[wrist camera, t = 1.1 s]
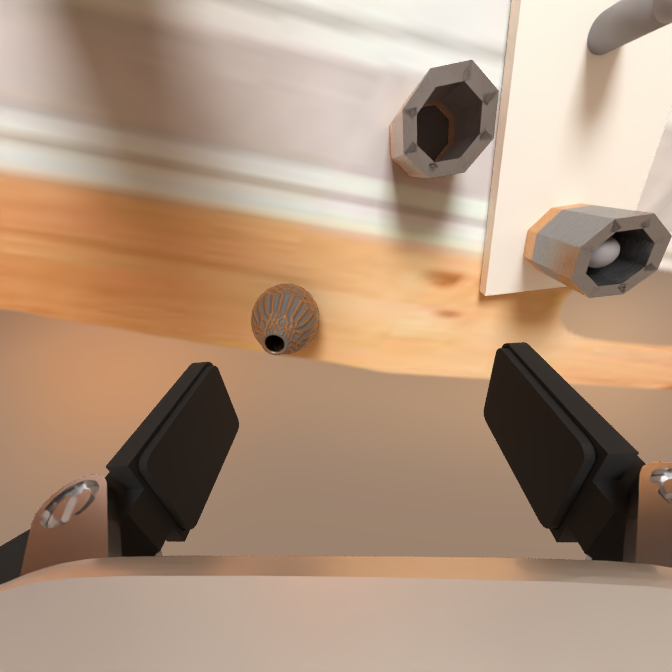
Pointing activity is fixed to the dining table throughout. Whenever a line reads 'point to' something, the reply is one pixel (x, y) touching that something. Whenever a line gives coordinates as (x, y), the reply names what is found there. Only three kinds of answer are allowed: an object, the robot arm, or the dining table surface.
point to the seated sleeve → (585, 236)
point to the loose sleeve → (459, 107)
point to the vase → (284, 319)
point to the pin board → (574, 122)
